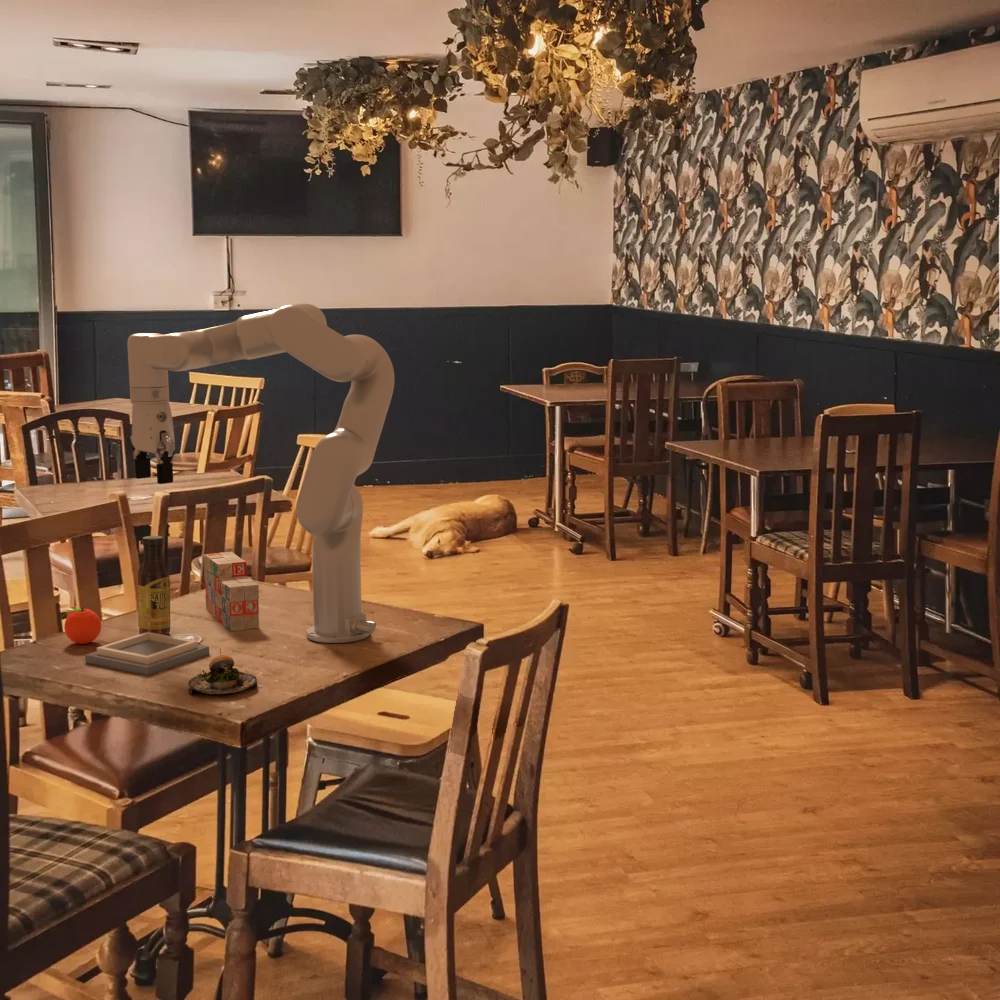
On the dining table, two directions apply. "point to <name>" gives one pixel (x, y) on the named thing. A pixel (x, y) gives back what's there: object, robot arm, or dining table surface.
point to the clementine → (82, 626)
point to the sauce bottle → (153, 589)
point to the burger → (221, 678)
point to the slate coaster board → (147, 653)
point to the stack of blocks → (230, 591)
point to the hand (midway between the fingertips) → (154, 480)
